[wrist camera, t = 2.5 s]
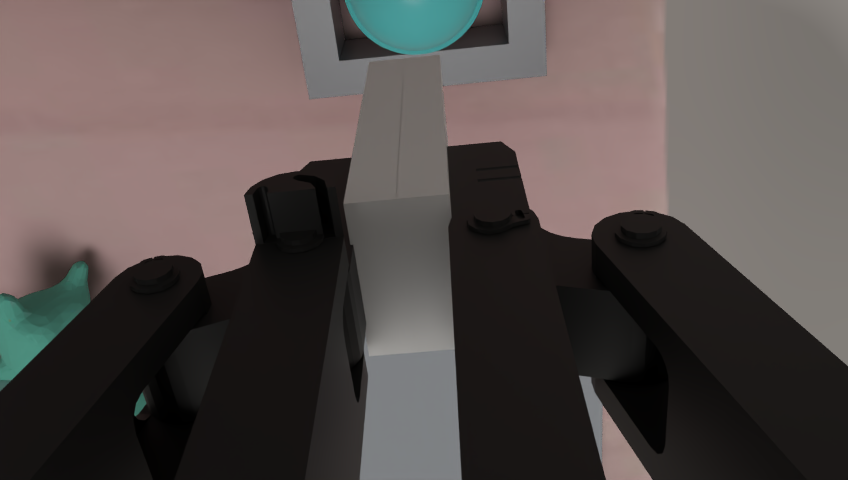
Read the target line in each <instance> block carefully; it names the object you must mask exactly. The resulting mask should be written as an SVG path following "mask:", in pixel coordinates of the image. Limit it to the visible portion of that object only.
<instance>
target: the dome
mask: <svg viewBox="0 0 848 480" xmlns="http://www.w3.org/2000/svg"><path fill="white" fill-rule="evenodd" d="M482 1H483V0H345V2H346V5H347V8H348V11H349V13H350V15H351V17H352V19H353V20H354V22H355V23H356V25H357V26H358V27H359V29H360V30H361V31H362V32H363V33H364V34H365V35H366V36H367V37H368V38H369V39H371V40H372V41H373V42H375V43H376V44H378V45H380V46H381V47H383V48H385V49H388V50H390V51H393V52H397V53H401V54H409V55H420V54H427V53H432V52H435V51H438V50H441V49H443V48H445V47H447V46H449V45H450V44H452V43H454V42H455V41H456V40H458V39H459V38H460V37H461V36H462V35H463V34H464V33H465V32H466V31H467V30H468V29H469V28H470V26H471V25H472V24H473V22H474V20H475V19H476V17H477V15H478V13H479V10H480V8H481V5H482Z"/></svg>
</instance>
